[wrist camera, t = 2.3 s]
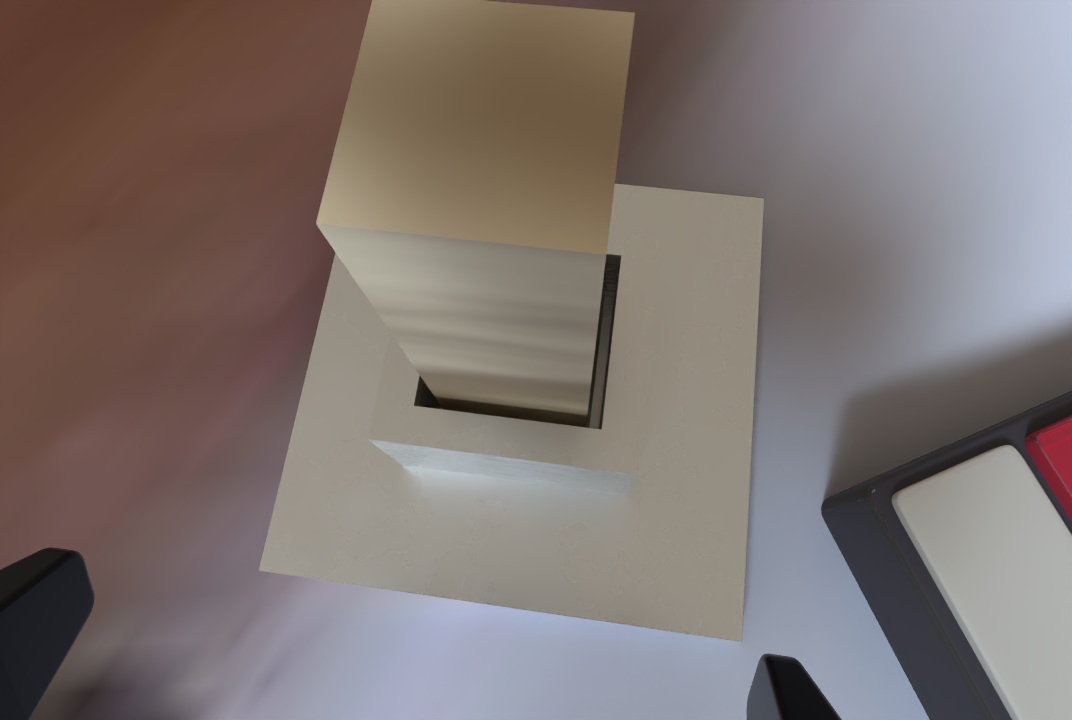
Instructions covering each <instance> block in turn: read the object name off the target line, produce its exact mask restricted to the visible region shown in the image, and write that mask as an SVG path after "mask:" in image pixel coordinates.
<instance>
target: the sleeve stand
mask: <svg viewBox="0 0 1072 720" xmlns="http://www.w3.org/2000/svg"><path fill="white" fill-rule="evenodd" d="M763 211H764V198H755V197H745V196H735V195H725V194H715V193H705V192H695V191H685V190H675V189H665V188H655V187H644V186H634V185H624V184H615V186H614V195H613V203H612V212H611V220H610V229H609V237H608V245H607V254H606V262H605V271H604V279H603V288H602V292H605V300H604V309H603V317H602V325H601V334H600V342H599V351H598V359H597V368H596V376H595V385H594V393H593V402H592V410H591V419H590V427H589V428H585V427H577V426H569V425H562V424H554V423H546V422H538V421H530V420H522V419H514V418H506V417H498V416H490V415H482V414H474V413H466V412H459V411H451V410H443V409H441V405H440V404H439V402H438V401H437V399H436V398H435V396H434V395H433V394H432V392H431V391H430V389H429V388H428V386H427V385H426V383H425V382H424V380H423V379H422V378H421V376H420V375H419V373H418V372H417V370H416V369H415V367H414V366H413V364H412V363H411V361H410V360H409V359H408V357H407V356H406V354H405V353H404V351H403V350H402V348H401V347H400V345H399V344H398V343H397V341H396V340H395V338H394V337H393V335H392V334H391V332H390V331H389V329H388V328H387V327H386V325H385V324H384V322H383V321H382V319H381V318H380V316H379V315H378V313H377V312H376V310H375V309H374V308H373V306H372V305H371V303H370V302H369V300H368V299H367V297H366V296H365V294H364V293H363V292H362V290H361V289H360V287H359V286H358V284H357V283H356V281H355V280H354V278H353V277H352V276H351V274H350V273H349V271H348V270H347V268H346V267H345V265H344V264H343V262H342V261H341V259H340V258H339V257H338V255H337V254H336V253H335V257H334V261H333V265H332V270H331V274H330V278H329V282H328V286H327V290H326V294H325V299H324V303H323V307H322V311H321V315H320V319H319V323H318V328H317V332H316V336H315V340H314V344H313V348H312V353H311V357H310V361H309V365H308V369H307V373H306V377H305V382H304V386H303V390H302V394H301V398H300V402H299V406H298V411H297V415H296V419H295V423H294V427H293V431H292V435H291V440H290V444H289V448H288V452H287V456H286V460H285V465H284V469H283V473H282V477H281V481H280V485H279V489H278V494H277V498H276V502H275V506H274V510H273V514H272V518H271V523H270V527H269V531H268V535H267V539H266V543H265V548H264V552H263V556H262V560H261V564H260V568H259V571H265V572H272V573H279V574H286V575H292V576H299V577H306V578H313V579H320V580H326V581H333V582H340V583H347V584H354V585H360V586H367V587H374V588H381V589H388V590H394V591H401V592H408V593H415V594H421V595H428V596H435V597H442V598H449V599H455V600H462V601H469V602H476V603H483V604H489V605H496V606H503V607H510V608H517V609H523V610H530V611H537V612H544V613H551V614H557V615H564V616H571V617H578V618H584V619H591V620H598V621H605V622H612V623H618V624H625V625H632V626H639V627H646V628H652V629H659V630H666V631H673V632H680V633H686V634H693V635H700V636H707V637H713V638H720V639H727V640H734V641H741V642H742V628H743V608H744V588H745V568H746V549H747V529H748V509H749V489H750V469H751V449H752V429H753V410H754V390H755V370H756V350H757V330H758V310H759V290H760V270H761V251H762V231H763Z"/></svg>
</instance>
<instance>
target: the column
mask: <svg viewBox="0 0 1072 720" xmlns="http://www.w3.org/2000/svg"><path fill="white" fill-rule="evenodd" d="M634 17H635V13H633V12H620V11H608V10H595V9H583V8H571V7H558V6H546V5H533V4H521V3H508V2H496V1H483V0H372V4H371V8H370V12H369V16H368V20H367V24H366V28H365V32H364V36H363V40H362V44H361V48H360V52H359V56H358V59H357V63H356V67H355V71H354V75H353V79H352V83H351V87H350V91H349V95H348V99H347V103H346V107H345V111H344V115H343V119H342V123H341V127H340V131H339V135H338V138H337V142H336V146H335V150H334V154H333V158H332V162H331V166H330V170H329V174H328V178H327V182H326V186H325V190H324V194H323V198H322V202H321V206H320V210H319V214H318V217H317V221H316V224H317V226H318V227H319V229H320V230H321V232H322V233H323V235H324V236H325V238H326V239H327V241H328V242H329V243H330V245H331V246H332V248H333V249H334V251H335V252H336V254H337V255H338V257H339V258H340V259H341V261H342V262H343V264H344V265H345V267H346V268H347V270H348V271H349V273H350V274H351V276H352V277H353V278H354V280H355V281H356V283H357V284H358V286H359V287H360V289H361V290H362V292H363V293H364V294H365V296H366V297H367V299H368V300H369V302H370V303H371V305H372V306H373V308H374V309H375V310H376V312H377V313H378V315H379V316H380V318H381V319H382V321H383V322H384V324H385V325H386V327H387V328H388V329H389V331H390V332H391V334H392V335H393V337H394V338H395V340H396V341H397V343H398V344H399V345H400V347H401V348H402V350H403V351H404V353H405V354H406V356H407V357H408V359H409V360H410V361H411V363H412V364H413V366H414V367H415V369H416V370H417V372H418V373H419V375H420V376H421V378H422V379H423V380H424V382H425V383H426V385H427V386H428V388H429V389H430V391H431V392H432V394H433V395H434V396H435V398H436V399H437V401H438V402H439V404H440V405H441V409H443V410H451V411H459V412H466V413H474V414H482V415H490V416H498V417H506V418H514V419H522V420H530V421H538V422H546V423H554V424H562V425H569V426H577V427H585V428H589V427H590V419H591V410H592V402H593V393H594V385H595V376H596V368H597V359H598V351H599V342H600V334H601V325H602V317H603V309H604V300H605V292H602V288H603V279H604V271H605V262H606V254H607V245H608V237H609V229H610V220H611V212H612V203H613V195H614V186H615V178H616V169H617V161H618V152H619V144H620V135H621V127H622V118H623V110H624V102H625V93H626V85H627V76H628V68H629V59H630V51H631V42H632V34H633V25H634Z"/></svg>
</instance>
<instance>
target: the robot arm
mask: <svg viewBox="0 0 1072 720" xmlns="http://www.w3.org/2000/svg"><path fill="white" fill-rule="evenodd" d="M93 604H94V591H93V588H92V585H91V581H90V578H89V575H88V571H87V568H86V565H85V561H84V559H83V556H82V555H81V554H80V553H79V552H77V551H73V550H66V549H60V548H46V549H43V550H40V551H38V552H36V553H34V554H32V555H30V556H28V557H26V558H24V559H21V560H19V561H17V562H15V563H13V564H11V565H9V566H7V567H5V568H3V569H1V570H0V720H30V718H31V716H32V715H33V713H34V711H35V710H36V708H37V706H38V705H39V703H40V701H41V700H42V698H43V696H44V694H45V693H46V691H47V689H48V687H49V686H50V684H51V682H52V680H53V679H54V677H55V675H56V673H57V672H58V670H59V668H60V666H61V665H62V663H63V661H64V659H65V658H66V656H67V654H68V652H69V651H70V649H71V647H72V645H73V644H74V642H75V640H76V638H77V637H78V635H79V633H80V631H81V630H82V628H83V626H84V624H85V623H86V621H87V619H88V617H89V615H90V613H91V611H92V608H93ZM747 720H842V719H841V718H840V717H839V715H838V714H837V713H836V711H835V710H834V708H833V707H832V706H831V704H830V703H829V702H828V700H827V699H826V697H825V696H824V695H823V693H822V692H821V691H820V689H819V688H818V686H817V685H816V684H815V682H814V681H813V680H812V678H811V677H810V675H809V674H808V673H807V671H806V670H805V669H804V667H803V666H802V664H801V663H800V662H799V661H798V660H796V659H795V658H793V657H788V656H781V655H774V654H764V655H763V656H762V657H761V658H760V660H759V663H758V666H757V670H756V673H755V676H754V679H753V682H752V686H751V689H750V692H749V696H748V701H747Z"/></svg>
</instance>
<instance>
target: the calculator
mask: <svg viewBox="0 0 1072 720" xmlns="http://www.w3.org/2000/svg"><path fill="white" fill-rule="evenodd" d="M821 511H822V516H823V518H824V521H825V522H826V524H827V526H828V528H829V530H830V532H831V534H832V536H833V538H834V540H835V542H836V543H837V545H838V547H839V549H840V551H841V553H842V555H843V557H844V559H845V560H846V562H847V564H848V566H849V568H850V570H851V572H852V574H853V576H854V577H855V579H856V581H857V583H858V585H859V587H860V589H861V591H862V592H863V594H864V596H865V598H866V600H867V602H868V604H869V606H870V608H871V609H872V611H873V613H874V615H875V617H876V619H877V621H878V623H879V625H880V626H881V628H882V630H883V632H884V634H885V636H886V638H887V640H888V642H889V643H890V645H891V647H892V649H893V651H894V653H895V655H896V657H897V659H898V660H899V662H900V664H901V666H902V668H903V670H904V672H905V674H906V675H907V677H908V679H909V681H910V683H911V685H912V687H913V689H914V691H915V692H916V694H917V696H918V698H919V700H920V702H921V704H922V706H923V708H924V709H925V711H926V713H927V715H928V717H929V719H930V720H1072V391H1071V392H1068V393H1066V394H1064V395H1062V396H1059V397H1057V398H1055V399H1053V400H1050V401H1048V402H1046V403H1044V404H1041V405H1039V406H1037V407H1034V408H1032V409H1030V410H1028V411H1025V412H1023V413H1021V414H1019V415H1016V416H1014V417H1012V418H1010V419H1007V420H1005V421H1003V422H1000V423H998V424H996V425H994V426H991V427H989V428H987V429H985V430H982V431H980V432H978V433H975V434H973V435H971V436H969V437H966V438H964V439H962V440H960V441H957V442H955V443H953V444H950V445H948V446H945V447H943V448H941V449H938V450H936V451H934V452H931V453H929V454H927V455H924V456H922V457H920V458H918V459H915V460H913V461H911V462H909V463H906V464H904V465H902V466H899V467H897V468H895V469H893V470H890V471H888V472H886V473H884V474H881V475H879V476H877V477H874V478H872V479H870V480H868V481H865V482H863V483H861V484H859V485H856V486H854V487H852V488H849V489H847V490H845V491H843V492H840V493H838V494H836V495H834V496H832V497H830V498H828V499H827V500H826V501H825V502H824V503H823V505H822V509H821Z"/></svg>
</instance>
